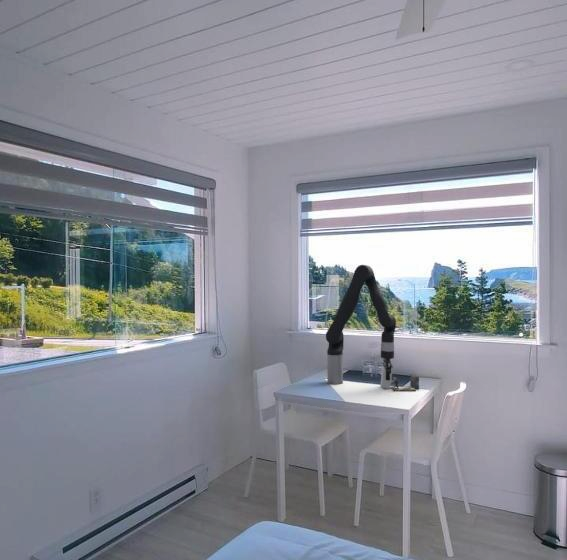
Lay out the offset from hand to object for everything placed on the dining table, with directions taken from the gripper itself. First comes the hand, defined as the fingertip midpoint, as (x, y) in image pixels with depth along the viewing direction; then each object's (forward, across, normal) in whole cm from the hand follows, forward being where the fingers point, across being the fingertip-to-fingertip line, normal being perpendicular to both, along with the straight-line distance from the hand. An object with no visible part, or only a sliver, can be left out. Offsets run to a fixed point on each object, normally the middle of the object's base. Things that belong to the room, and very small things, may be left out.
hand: (386, 378), depth 279 cm
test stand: (+5, +3, +10) cm, 11 cm away
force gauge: (+5, 0, -1) cm, 5 cm away
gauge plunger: (+4, +2, +5) cm, 7 cm away
